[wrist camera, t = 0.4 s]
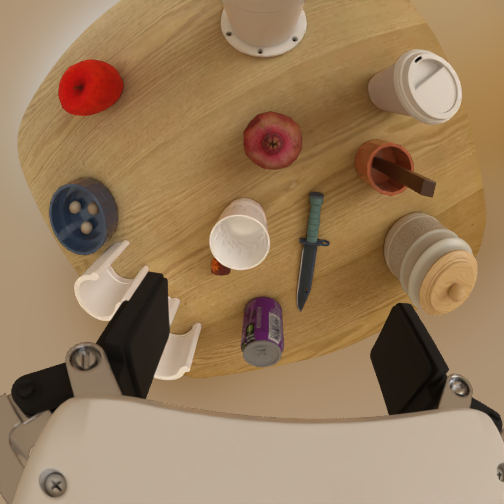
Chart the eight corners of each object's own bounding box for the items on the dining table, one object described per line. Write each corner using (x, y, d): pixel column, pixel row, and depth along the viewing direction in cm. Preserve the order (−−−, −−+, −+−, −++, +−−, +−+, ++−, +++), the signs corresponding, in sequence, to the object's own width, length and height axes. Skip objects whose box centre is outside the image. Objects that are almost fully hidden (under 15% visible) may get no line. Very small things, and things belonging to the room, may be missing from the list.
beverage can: (241, 297, 53) (235, 341, 42) (279, 292, 52) (281, 337, 41) (248, 325, 56) (244, 370, 45) (283, 321, 55) (286, 366, 44)
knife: (304, 194, 41) (337, 198, 41) (304, 190, 43) (335, 194, 43) (290, 314, 53) (316, 316, 52) (291, 307, 55) (316, 309, 54)
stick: (373, 156, 40) (424, 178, 25) (383, 158, 40) (436, 182, 25) (371, 167, 40) (420, 194, 26) (381, 169, 40) (432, 197, 26)
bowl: (61, 177, 43) (45, 184, 39) (116, 176, 43) (102, 183, 39) (69, 240, 49) (55, 251, 45) (122, 246, 49) (110, 258, 45)
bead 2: (84, 218, 46) (77, 223, 44) (94, 219, 46) (87, 224, 44) (85, 230, 47) (79, 235, 45) (95, 231, 47) (89, 236, 45)
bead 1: (73, 198, 45) (66, 202, 42) (82, 199, 45) (75, 203, 42) (74, 210, 46) (67, 215, 44) (84, 211, 46) (77, 215, 44)
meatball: (213, 267, 50) (209, 279, 47) (213, 249, 49) (209, 260, 45) (233, 269, 50) (231, 281, 47) (233, 250, 49) (231, 261, 45)
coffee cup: (399, 60, 32) (451, 44, 19) (418, 114, 36) (474, 119, 23) (349, 70, 34) (388, 50, 21) (370, 126, 38) (417, 133, 25)
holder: (358, 134, 39) (371, 137, 33) (400, 145, 39) (418, 150, 33) (350, 181, 42) (362, 190, 37) (392, 189, 42) (408, 199, 37)
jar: (368, 254, 48) (406, 317, 32) (410, 196, 42) (469, 238, 27) (411, 284, 50) (451, 343, 34) (450, 233, 45) (503, 280, 29)
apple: (82, 102, 37) (43, 104, 27) (105, 58, 34) (68, 49, 24) (117, 122, 39) (80, 127, 29) (143, 76, 36) (110, 67, 26)
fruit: (275, 175, 42) (277, 191, 34) (233, 142, 40) (224, 148, 32) (309, 137, 40) (322, 142, 31) (268, 102, 38) (269, 96, 29)
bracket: (96, 257, 50) (64, 290, 40) (126, 233, 48) (93, 265, 37) (172, 343, 59) (157, 384, 49) (205, 329, 57) (194, 373, 46)
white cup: (230, 245, 48) (222, 276, 39) (213, 203, 45) (199, 225, 36) (275, 232, 47) (277, 261, 38) (259, 187, 43) (258, 206, 35)
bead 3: (91, 199, 45) (84, 203, 42) (102, 199, 45) (95, 203, 42) (92, 211, 46) (86, 216, 44) (103, 212, 46) (96, 217, 44)
